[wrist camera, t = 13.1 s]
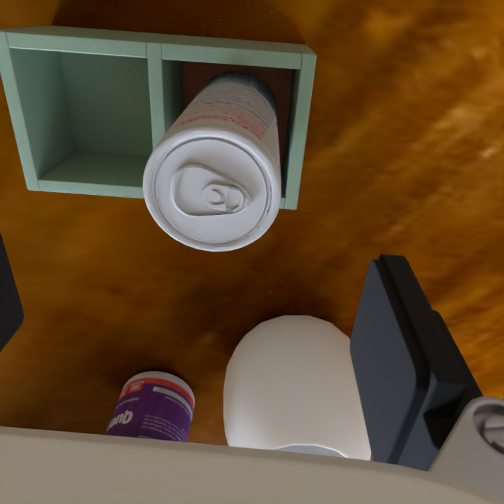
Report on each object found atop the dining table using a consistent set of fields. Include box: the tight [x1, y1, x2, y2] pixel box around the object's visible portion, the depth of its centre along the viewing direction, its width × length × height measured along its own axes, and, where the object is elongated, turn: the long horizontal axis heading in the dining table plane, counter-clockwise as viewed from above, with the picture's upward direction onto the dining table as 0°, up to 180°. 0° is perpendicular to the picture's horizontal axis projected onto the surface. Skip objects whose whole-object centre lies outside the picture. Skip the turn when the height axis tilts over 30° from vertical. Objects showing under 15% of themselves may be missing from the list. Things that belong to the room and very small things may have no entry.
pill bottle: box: [105, 371, 195, 442], centre depth 40 cm, size 8×8×14 cm
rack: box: [0, 25, 317, 210], centre depth 27 cm, size 17×9×7 cm, turn 86°
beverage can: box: [143, 71, 281, 251], centre depth 23 cm, size 6×6×15 cm
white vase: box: [223, 315, 371, 461], centre depth 36 cm, size 13×13×14 cm
